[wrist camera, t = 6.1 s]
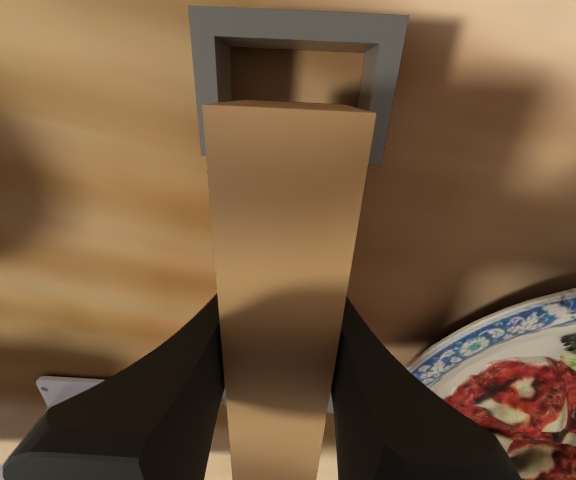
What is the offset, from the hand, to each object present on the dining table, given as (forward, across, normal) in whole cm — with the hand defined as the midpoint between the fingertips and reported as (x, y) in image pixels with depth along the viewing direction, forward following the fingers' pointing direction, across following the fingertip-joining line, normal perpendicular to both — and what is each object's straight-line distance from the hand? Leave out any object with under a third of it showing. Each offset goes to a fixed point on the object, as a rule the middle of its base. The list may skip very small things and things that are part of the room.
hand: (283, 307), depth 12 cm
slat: (+2, 0, 0) cm, 2 cm away
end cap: (+5, 0, -8) cm, 9 cm away
